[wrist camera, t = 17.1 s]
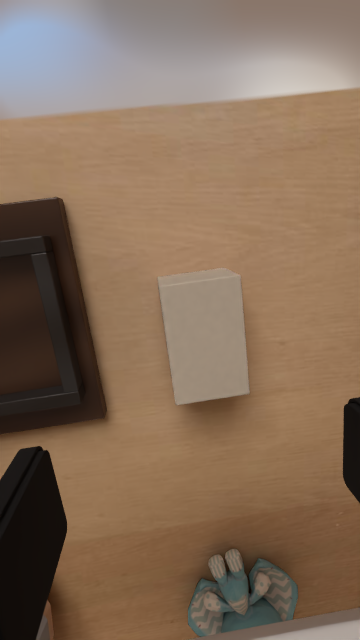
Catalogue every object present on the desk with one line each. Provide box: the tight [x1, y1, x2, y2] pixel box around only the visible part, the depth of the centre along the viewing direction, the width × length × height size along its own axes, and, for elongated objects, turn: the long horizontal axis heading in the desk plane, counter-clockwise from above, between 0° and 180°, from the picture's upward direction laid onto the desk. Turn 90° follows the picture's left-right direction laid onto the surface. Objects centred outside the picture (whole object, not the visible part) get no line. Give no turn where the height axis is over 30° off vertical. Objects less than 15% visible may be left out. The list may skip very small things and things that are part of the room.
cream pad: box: [158, 268, 250, 405], centre depth 23 cm, size 8×5×4 cm, turn 7°
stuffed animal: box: [188, 549, 298, 637], centre depth 29 cm, size 11×7×12 cm
